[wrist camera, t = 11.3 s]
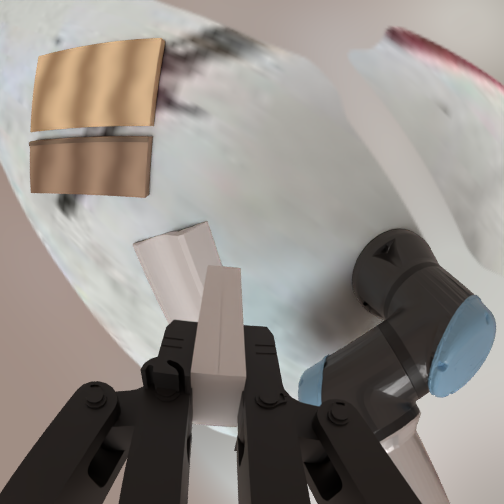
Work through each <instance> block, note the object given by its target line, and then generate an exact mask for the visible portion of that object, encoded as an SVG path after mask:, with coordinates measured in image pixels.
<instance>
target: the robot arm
mask: <svg viewBox="0 0 504 504" xmlns="http://www.w3.org/2000/svg"><path fill="white" fill-rule="evenodd" d="M352 285H353V290H354V293H355V295H356V297H357V299H358V300H359V302H360V303H361V305H362V306H363V307H364V308H365V309H366V310H367V311H369V312H370V313H372V314H374V315H375V316H377V317H379V318H381V319H382V320H384V321H383V322H382V323H380V324H379V325H377V326H376V327H374V328H373V329H371V330H370V331H368V332H367V333H365V334H364V335H362V336H361V337H359V338H358V339H356V340H355V341H353V342H351V343H350V344H348V345H346V346H345V347H343V348H342V349H340V350H338V351H336V352H335V353H333V354H331V355H329V354H328V355H327V356H325V357H324V358H323V360H321V361H320V362H318V363H317V364H315V365H313V366H312V367H310V368H309V369H307V370H306V371H305V372H304V373H303V374H302V376H301V378H300V381H299V390H298V399H299V401H297V400H295V399H293V398H292V397H291V396H290V395H289V394H288V393H287V392H286V391H285V390H284V387H283V384H282V379H281V374H280V368H279V363H278V357H277V352H276V347H275V341H274V336H273V334H272V333H271V332H270V330H269V329H268V328H267V327H263V326H247V325H243V308H242V289H241V268H234V267H223V266H213V265H208V267H207V273H206V278H205V284H204V290H203V296H202V302H201V308H200V314H199V320H198V322H192V321H183V320H175V319H174V320H173V321H172V322H171V323H170V324H169V325H168V326H167V327H166V330H165V333H164V337H163V340H162V344H161V347H160V351H159V354H158V357H155V358H152V359H150V360H148V361H147V362H146V363H144V365H143V366H142V368H141V375H142V380H143V385H144V386H143V387H141V388H139V389H137V390H131V391H118V392H115V391H114V389H113V388H112V387H111V386H109V385H108V384H106V383H103V382H98V381H97V382H89V383H86V384H83V385H82V386H81V387H80V388H79V389H78V390H77V391H76V392H75V393H74V394H73V396H72V397H71V398H70V399H69V401H68V402H67V403H66V404H65V406H64V407H63V408H62V410H61V411H60V412H59V413H58V415H57V416H56V417H55V419H54V420H53V421H52V423H51V424H50V425H49V426H48V428H47V429H46V430H45V432H44V433H43V434H42V436H41V437H40V438H39V440H38V441H37V442H36V444H35V445H34V446H33V448H32V449H31V450H30V452H29V453H28V454H27V456H26V457H25V459H24V460H23V461H22V463H21V464H20V466H19V467H18V468H17V470H16V471H15V473H14V474H13V475H12V477H11V478H10V480H9V481H8V483H7V484H6V486H5V487H4V489H3V490H2V492H1V493H0V504H102V503H103V502H104V500H105V498H106V496H107V494H108V492H109V490H110V488H111V487H112V485H113V483H114V481H115V479H116V477H117V476H118V474H119V472H120V470H121V468H122V466H123V465H124V463H125V461H126V459H127V463H126V467H125V472H124V478H123V483H122V488H121V493H120V499H119V504H187V503H188V485H189V467H190V454H191V442H192V433H191V430H192V424H199V425H200V424H201V425H211V426H226V427H237V423H238V436H237V441H236V445H235V450H234V451H237V473H238V474H237V475H238V501H239V504H311V503H310V498H309V492H308V486H309V488H310V490H311V492H312V494H313V496H314V498H315V500H316V502H317V503H318V504H450V502H449V500H448V498H447V496H446V493H445V491H444V488H443V486H442V484H441V482H440V479H439V477H438V475H437V473H436V471H435V469H434V466H433V464H432V462H431V460H430V458H429V456H428V454H427V452H426V450H425V447H424V445H423V443H422V441H421V439H420V437H419V435H418V433H417V431H416V427H417V424H418V421H419V418H420V415H421V412H420V410H419V408H418V407H417V405H416V401H417V400H418V399H420V398H421V397H423V396H424V395H426V394H427V393H428V392H430V393H431V394H432V395H435V396H436V397H446V396H448V395H449V394H453V393H455V392H456V391H458V390H459V389H460V388H461V387H463V386H464V385H465V384H466V383H467V382H468V381H469V380H470V379H471V378H472V377H473V376H474V375H475V373H476V372H477V371H478V370H479V369H480V367H481V366H482V364H483V363H484V361H485V360H486V358H487V356H488V354H489V352H490V350H491V348H492V345H493V342H494V339H495V333H496V322H495V318H494V316H493V314H492V313H491V311H490V310H489V309H488V308H487V307H486V306H485V305H484V304H483V303H482V301H481V299H480V298H479V297H478V296H477V295H474V294H473V293H472V292H471V291H470V290H468V289H467V288H466V287H465V286H464V285H463V284H461V283H460V282H459V281H458V280H457V279H456V278H454V277H453V276H452V275H451V274H450V273H448V272H447V271H446V270H445V269H443V268H442V267H441V266H440V265H439V264H438V262H437V260H436V258H435V256H434V254H433V252H432V251H431V248H430V247H429V245H428V244H427V242H426V241H425V240H424V239H423V238H421V237H420V236H418V235H417V234H415V233H414V232H412V231H409V230H406V229H395V230H390V231H387V232H385V233H383V234H381V235H379V236H378V237H376V238H375V239H374V240H372V241H371V242H370V243H369V244H368V245H367V246H366V247H365V249H364V250H363V251H362V253H361V254H360V256H359V258H358V260H357V262H356V264H355V267H354V271H353V276H352ZM127 457H128V458H127ZM307 484H308V486H307Z"/></svg>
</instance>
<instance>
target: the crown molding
mask: <svg viewBox="0 0 504 504" xmlns="http://www.w3.org/2000/svg"><path fill="white" fill-rule="evenodd" d="M133 247H134V249H135V252H136V254H137V256H138V259H139V261H140V263H141V266H142V268H143V270H144V272H145V275H146V277H147V279H148V281H149V284H150V286H151V288H152V290H153V292H154V294H155V296H156V299H157V301H158V303H159V305H160V307H161V309H162V311H163V313H164V315H165V317H166V319H167V321H168V323H169V324H170V323H171V322H172V321H173V320H174V319H175V320H183V321H192V322H198V320H199V314H200V308H201V302H202V296H203V290H204V284H205V278H206V273H207V267H208V265H213V266H222V263H221V260H220V257H219V254H218V251H217V248H216V245H215V242H214V239H213V236H212V233H211V230H210V227H209V224H208V221H206V222H203V223H199V224H197V225H195V226H192V227H189V228H186V229H183V230H181V231H178V232H176V231H173V232H168V233H165V234H162V235H158V236H155V237H152V238H149V239H146V240H144V241H142V242H137V243H134V244H133Z"/></svg>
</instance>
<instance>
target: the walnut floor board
mask: <svg viewBox="0 0 504 504" xmlns="http://www.w3.org/2000/svg"><path fill="white" fill-rule="evenodd" d="M152 140H153V137H150V136H98V137H74V138H58V139H46V140H36V141H30V142H29V146H30V185H31V193H58V194H86V195H108V196H125V197H141V198H145V197H147V196H148V195H149V185H150V167H151V152H152Z"/></svg>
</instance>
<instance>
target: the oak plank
mask: <svg viewBox="0 0 504 504" xmlns="http://www.w3.org/2000/svg"><path fill="white" fill-rule="evenodd" d="M164 46H165V41H164V40H163V39H162V38H151V39H136V40H125V41H115V42H107V43H100V44H94V45H88V46H82V47H77V48H72V49H67V50H62V51H58V52H54V53H50V54H46V55H42V56H39V58H38V63H37V69H36V76H35V83H34V92H33V101H32V114H31V132H36V131H45V130H54V129H66V128H79V127H98V126H154V118H155V109H156V100H157V92H158V84H159V77H160V71H161V64H162V58H163V52H164Z"/></svg>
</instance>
